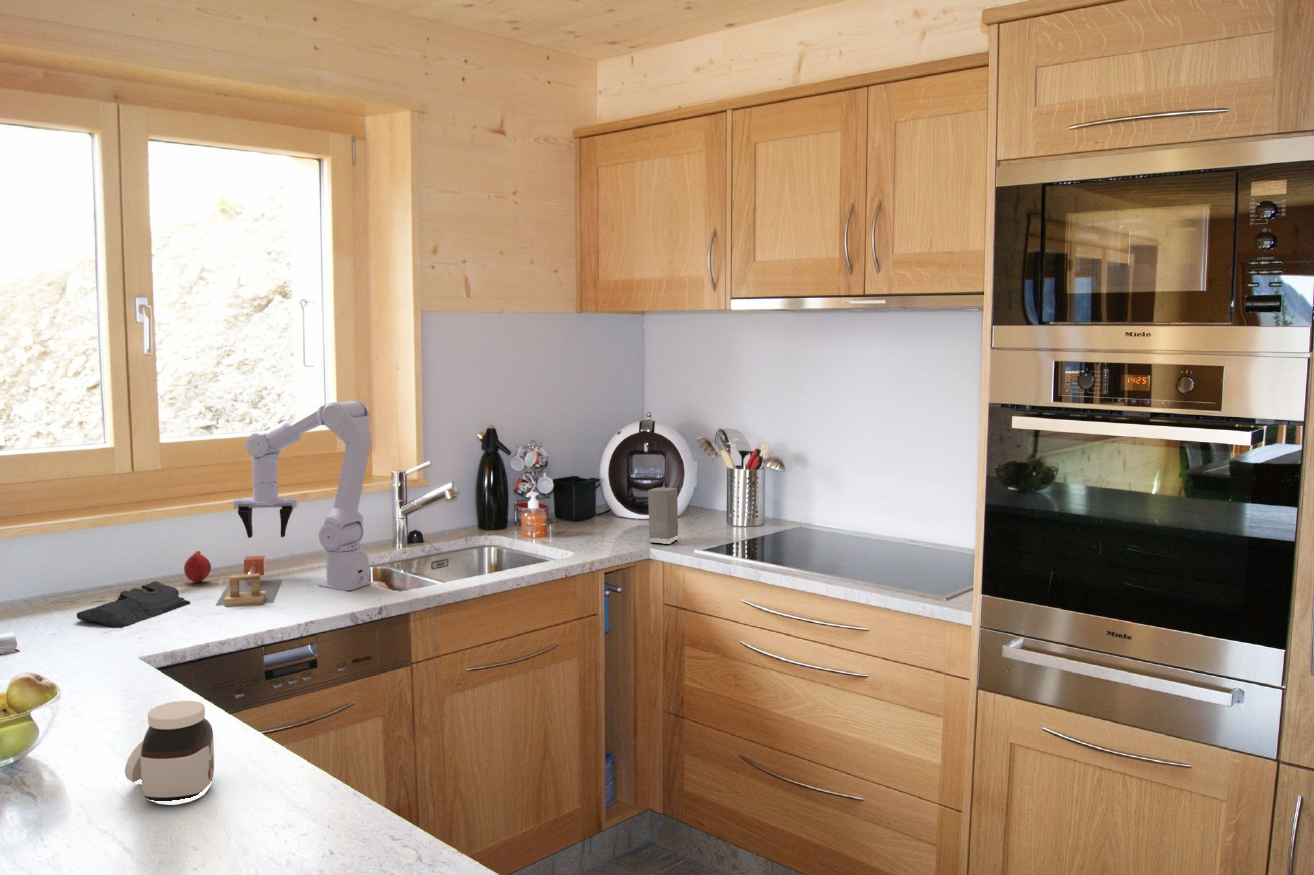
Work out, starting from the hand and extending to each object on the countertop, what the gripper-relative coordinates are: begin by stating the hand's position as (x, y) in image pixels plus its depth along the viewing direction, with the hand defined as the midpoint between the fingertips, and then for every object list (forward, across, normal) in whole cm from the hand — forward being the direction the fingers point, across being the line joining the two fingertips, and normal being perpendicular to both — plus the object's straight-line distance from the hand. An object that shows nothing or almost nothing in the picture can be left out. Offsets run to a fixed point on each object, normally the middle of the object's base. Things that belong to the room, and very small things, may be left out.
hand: (266, 536), depth 255 cm
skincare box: (+10, +104, +30) cm, 109 cm away
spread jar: (+10, +10, -121) cm, 122 cm away
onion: (+10, -15, -5) cm, 19 cm away
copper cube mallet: (+8, -1, -13) cm, 15 cm away
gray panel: (+10, -1, -15) cm, 18 cm away
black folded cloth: (+11, -22, -29) cm, 38 cm away
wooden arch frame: (+10, 0, -24) cm, 26 cm away
